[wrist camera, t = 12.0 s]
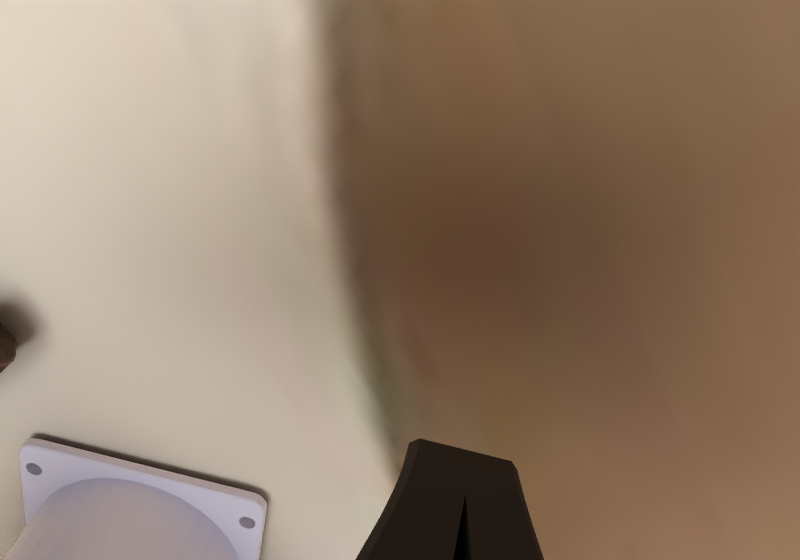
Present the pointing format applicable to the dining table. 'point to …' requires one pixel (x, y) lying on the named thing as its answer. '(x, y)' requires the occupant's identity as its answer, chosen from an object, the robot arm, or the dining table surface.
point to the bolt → (6, 348)
